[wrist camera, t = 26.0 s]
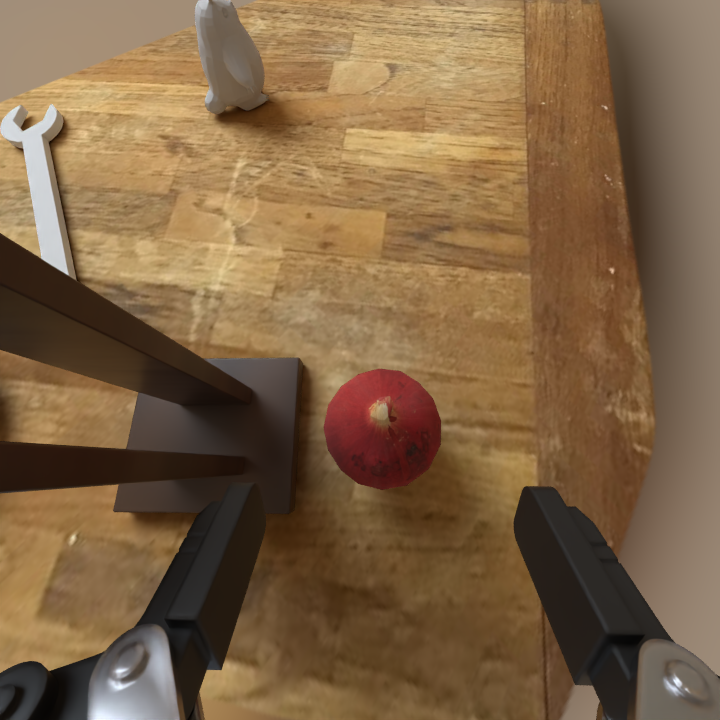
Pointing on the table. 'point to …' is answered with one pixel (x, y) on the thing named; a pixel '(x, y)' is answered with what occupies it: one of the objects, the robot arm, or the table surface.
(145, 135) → the table surface
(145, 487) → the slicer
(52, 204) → the wrench
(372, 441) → the onion
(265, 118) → the table surface
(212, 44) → the figurine
